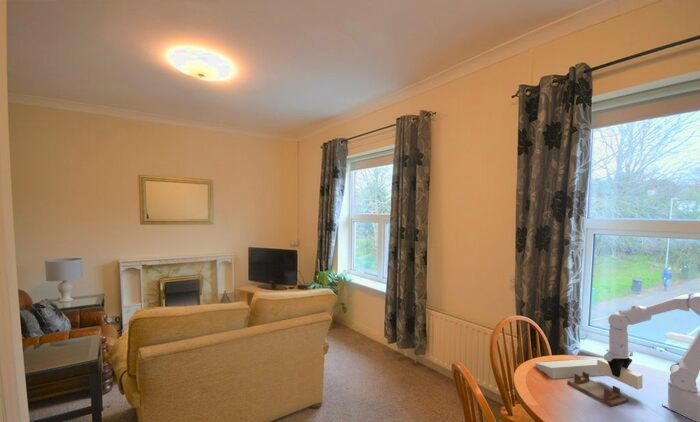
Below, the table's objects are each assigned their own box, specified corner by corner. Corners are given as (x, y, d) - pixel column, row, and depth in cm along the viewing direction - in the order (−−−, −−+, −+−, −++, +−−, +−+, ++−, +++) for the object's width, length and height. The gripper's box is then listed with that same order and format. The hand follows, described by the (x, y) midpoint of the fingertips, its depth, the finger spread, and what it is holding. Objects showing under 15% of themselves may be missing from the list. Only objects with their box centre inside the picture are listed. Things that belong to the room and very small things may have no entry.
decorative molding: (536, 374, 137) (553, 380, 127) (534, 362, 138) (551, 367, 128) (601, 369, 141) (622, 375, 131) (598, 358, 142) (619, 363, 132)
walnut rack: (628, 401, 112) (628, 389, 112) (611, 407, 109) (611, 395, 109) (583, 378, 128) (583, 368, 128) (567, 383, 124) (567, 372, 124)
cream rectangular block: (642, 388, 114) (642, 375, 114) (637, 389, 113) (637, 376, 113) (601, 369, 127) (601, 358, 127) (597, 370, 126) (597, 359, 127)
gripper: (618, 336, 127) (618, 367, 126) (595, 340, 122) (595, 373, 122) (638, 342, 120) (639, 376, 120) (615, 348, 115) (615, 382, 115)
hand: (618, 375), depth 120 cm, fingers closed on cream rectangular block, 3 cm apart
